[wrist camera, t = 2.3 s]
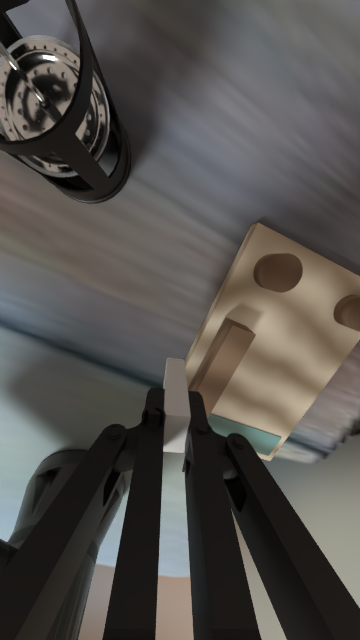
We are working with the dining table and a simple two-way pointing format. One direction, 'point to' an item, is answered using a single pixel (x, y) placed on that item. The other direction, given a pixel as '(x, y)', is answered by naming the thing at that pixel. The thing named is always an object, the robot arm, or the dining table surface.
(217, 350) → the folding leg
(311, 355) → the stool seat
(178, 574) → the dining table surface
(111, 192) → the french press
